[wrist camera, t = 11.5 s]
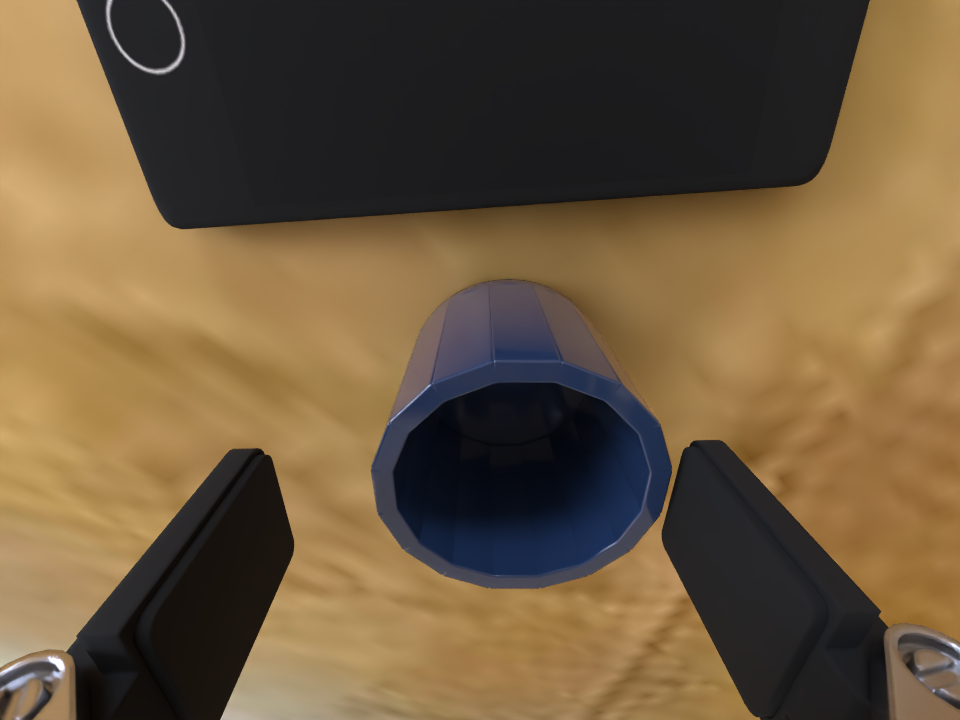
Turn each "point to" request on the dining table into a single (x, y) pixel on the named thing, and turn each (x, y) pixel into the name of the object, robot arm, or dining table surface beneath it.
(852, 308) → the dining table surface
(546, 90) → the cell phone
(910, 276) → the dining table surface
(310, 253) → the dining table surface
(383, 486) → the blue plastic cup
